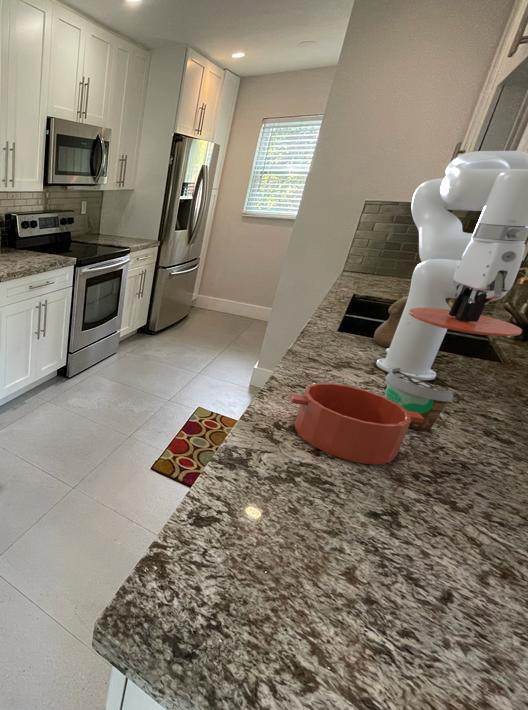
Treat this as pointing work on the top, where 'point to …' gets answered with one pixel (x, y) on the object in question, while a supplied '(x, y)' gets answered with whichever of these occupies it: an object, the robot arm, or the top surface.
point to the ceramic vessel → (394, 322)
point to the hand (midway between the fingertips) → (462, 317)
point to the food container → (416, 397)
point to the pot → (352, 422)
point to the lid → (465, 322)
